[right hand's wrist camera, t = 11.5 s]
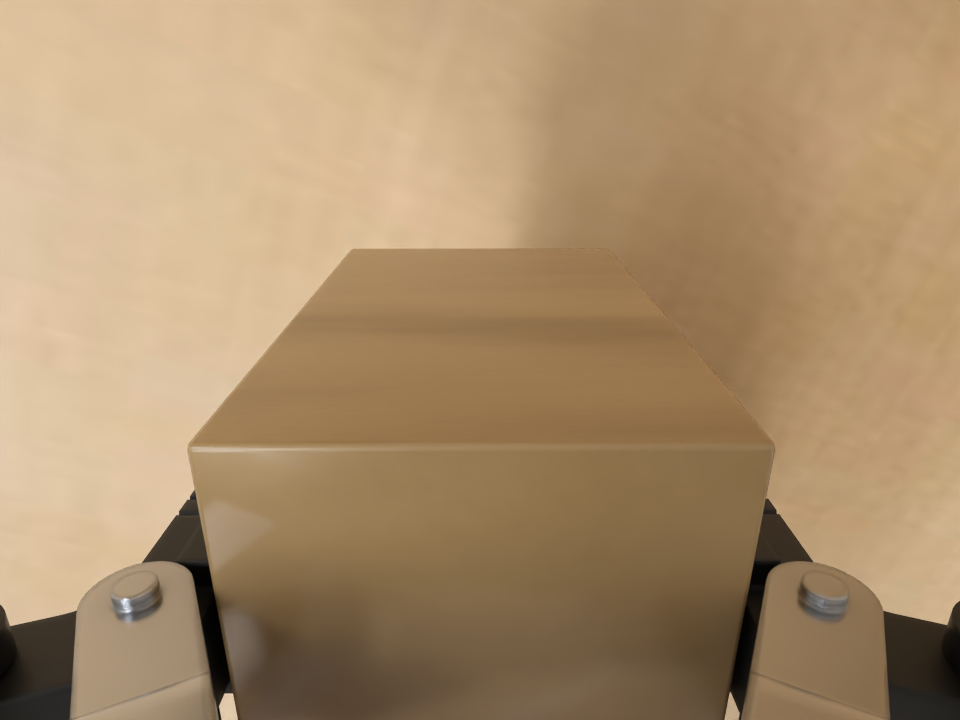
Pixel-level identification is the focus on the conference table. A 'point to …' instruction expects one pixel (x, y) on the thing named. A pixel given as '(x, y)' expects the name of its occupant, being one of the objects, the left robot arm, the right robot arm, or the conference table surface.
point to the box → (481, 499)
